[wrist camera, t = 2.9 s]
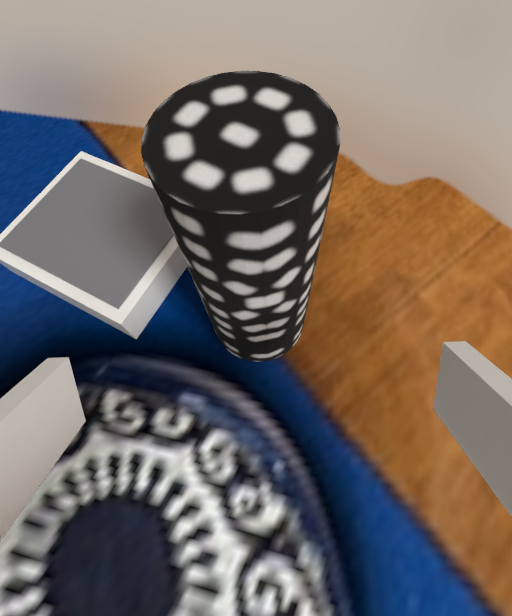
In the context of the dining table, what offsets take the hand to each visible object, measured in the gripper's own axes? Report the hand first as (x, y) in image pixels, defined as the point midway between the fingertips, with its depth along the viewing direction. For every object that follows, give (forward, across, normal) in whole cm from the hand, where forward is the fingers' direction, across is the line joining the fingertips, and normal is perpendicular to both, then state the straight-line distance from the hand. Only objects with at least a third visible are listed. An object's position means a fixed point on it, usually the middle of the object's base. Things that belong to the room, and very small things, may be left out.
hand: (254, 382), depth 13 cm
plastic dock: (+26, -15, 0) cm, 30 cm away
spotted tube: (+20, 0, -6) cm, 21 cm away
